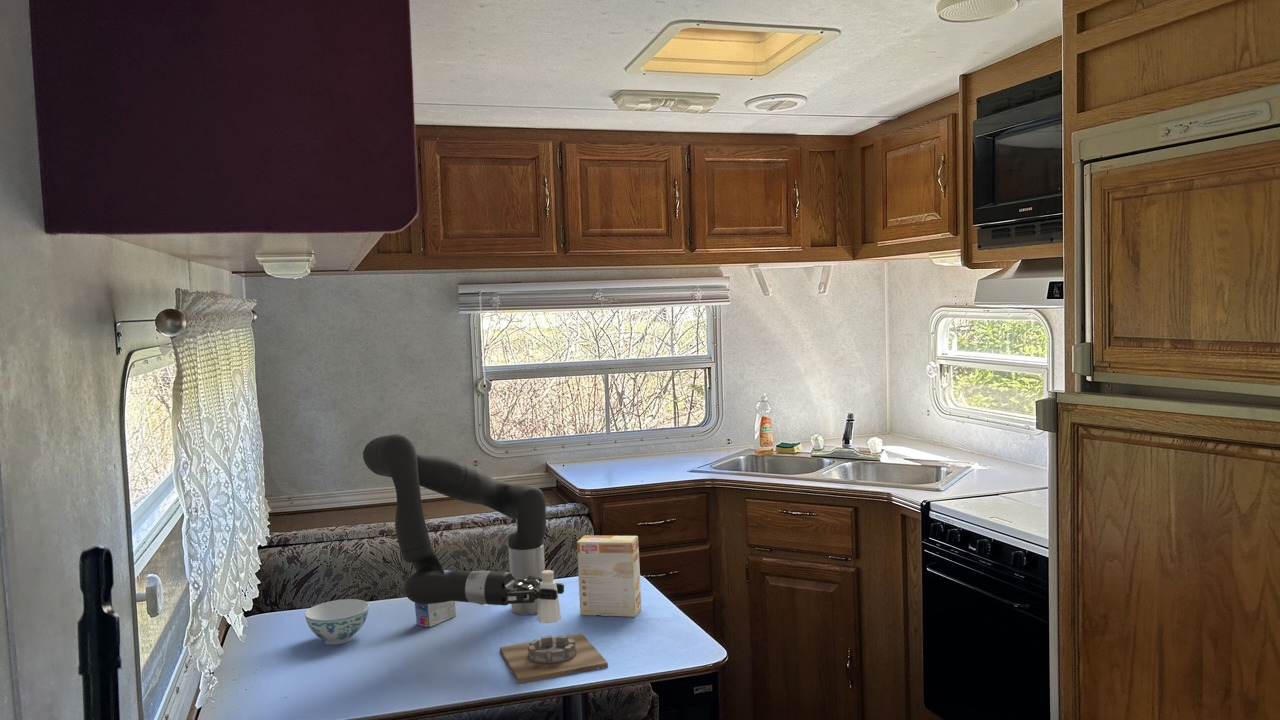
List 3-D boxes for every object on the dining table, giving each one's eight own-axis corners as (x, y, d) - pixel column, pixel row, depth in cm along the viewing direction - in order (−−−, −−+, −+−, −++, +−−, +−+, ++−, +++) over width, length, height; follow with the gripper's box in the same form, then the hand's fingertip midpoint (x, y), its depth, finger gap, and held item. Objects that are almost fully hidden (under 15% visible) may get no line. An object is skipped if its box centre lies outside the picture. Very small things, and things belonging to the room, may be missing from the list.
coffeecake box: (642, 608, 233) (638, 535, 232) (635, 617, 226) (632, 542, 225) (587, 606, 236) (584, 534, 235) (579, 615, 229) (576, 541, 228)
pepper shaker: (532, 620, 200) (530, 572, 200) (550, 613, 204) (548, 566, 204) (548, 625, 197) (546, 576, 196) (566, 618, 201) (564, 570, 200)
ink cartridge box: (442, 613, 236) (439, 559, 235) (457, 616, 233) (454, 561, 232) (414, 624, 228) (411, 569, 227) (429, 628, 225) (426, 572, 224)
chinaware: (305, 635, 223) (303, 605, 223) (367, 625, 229) (365, 595, 229) (308, 655, 210) (306, 623, 209) (374, 643, 216) (372, 612, 215)
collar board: (499, 651, 207) (499, 636, 207) (582, 637, 214) (581, 622, 214) (518, 683, 188) (517, 667, 188) (607, 667, 195) (607, 651, 195)
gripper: (475, 580, 197) (548, 584, 192) (501, 563, 210) (570, 566, 206) (476, 613, 197) (549, 618, 193) (502, 594, 211) (571, 598, 206)
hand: (559, 591), depth 199 cm, fingers closed on pepper shaker, 3 cm apart
